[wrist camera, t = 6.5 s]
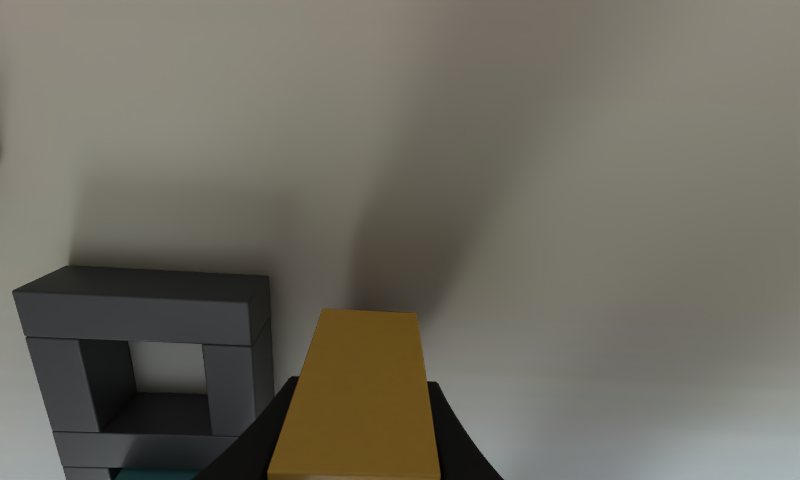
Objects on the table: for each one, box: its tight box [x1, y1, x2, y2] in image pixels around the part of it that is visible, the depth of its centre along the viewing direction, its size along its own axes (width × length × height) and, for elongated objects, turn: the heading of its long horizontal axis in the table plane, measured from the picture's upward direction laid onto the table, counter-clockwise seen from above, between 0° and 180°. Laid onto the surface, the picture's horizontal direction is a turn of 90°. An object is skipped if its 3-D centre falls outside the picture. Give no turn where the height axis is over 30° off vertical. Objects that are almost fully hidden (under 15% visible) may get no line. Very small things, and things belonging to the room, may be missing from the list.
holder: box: [12, 266, 274, 480], centre depth 17 cm, size 15×9×2 cm, turn 176°
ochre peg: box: [267, 309, 441, 480], centre depth 13 cm, size 4×4×8 cm
